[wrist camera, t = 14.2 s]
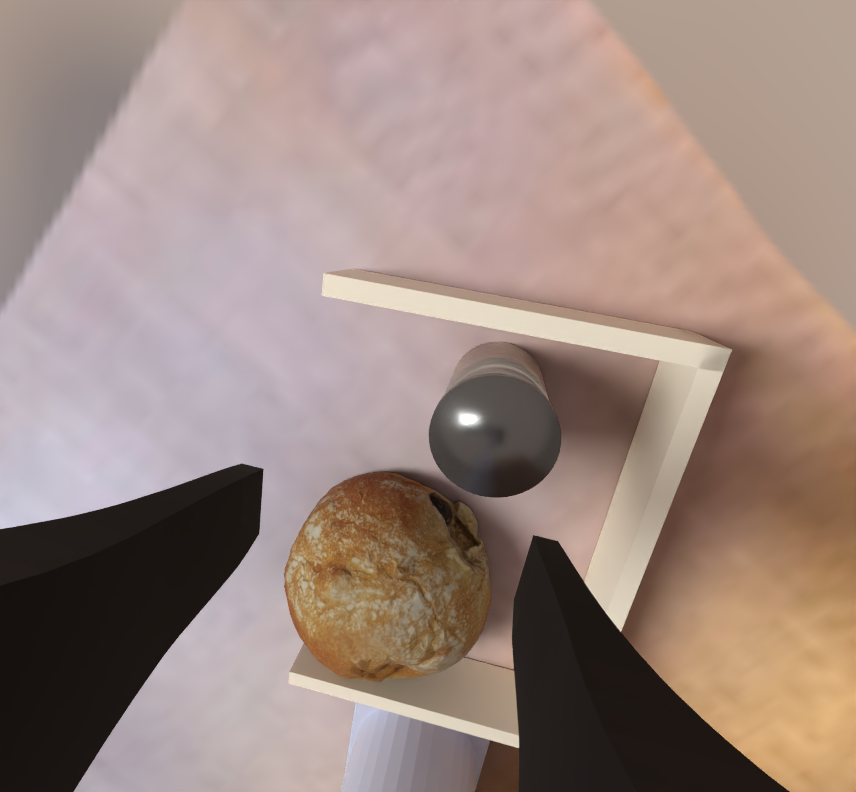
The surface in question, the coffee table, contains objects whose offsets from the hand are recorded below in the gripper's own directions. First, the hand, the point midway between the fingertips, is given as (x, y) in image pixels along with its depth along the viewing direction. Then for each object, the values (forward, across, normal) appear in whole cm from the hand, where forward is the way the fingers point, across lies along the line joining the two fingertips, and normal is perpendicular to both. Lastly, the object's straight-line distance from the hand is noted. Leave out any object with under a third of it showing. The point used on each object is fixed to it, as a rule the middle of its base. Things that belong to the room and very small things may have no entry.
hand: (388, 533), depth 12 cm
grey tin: (+10, -2, -2) cm, 10 cm away
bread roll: (+10, +1, +9) cm, 14 cm away
